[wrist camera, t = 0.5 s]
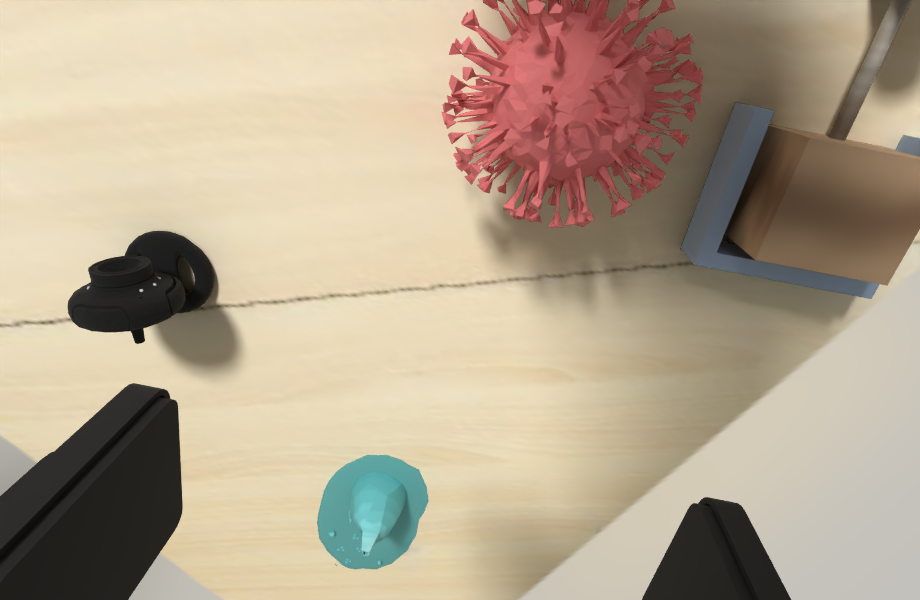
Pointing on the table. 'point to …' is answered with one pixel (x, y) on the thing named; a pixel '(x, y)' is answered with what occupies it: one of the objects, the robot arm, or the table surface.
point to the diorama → (371, 511)
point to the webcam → (141, 286)
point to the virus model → (569, 102)
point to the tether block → (832, 191)
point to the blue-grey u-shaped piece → (723, 197)
